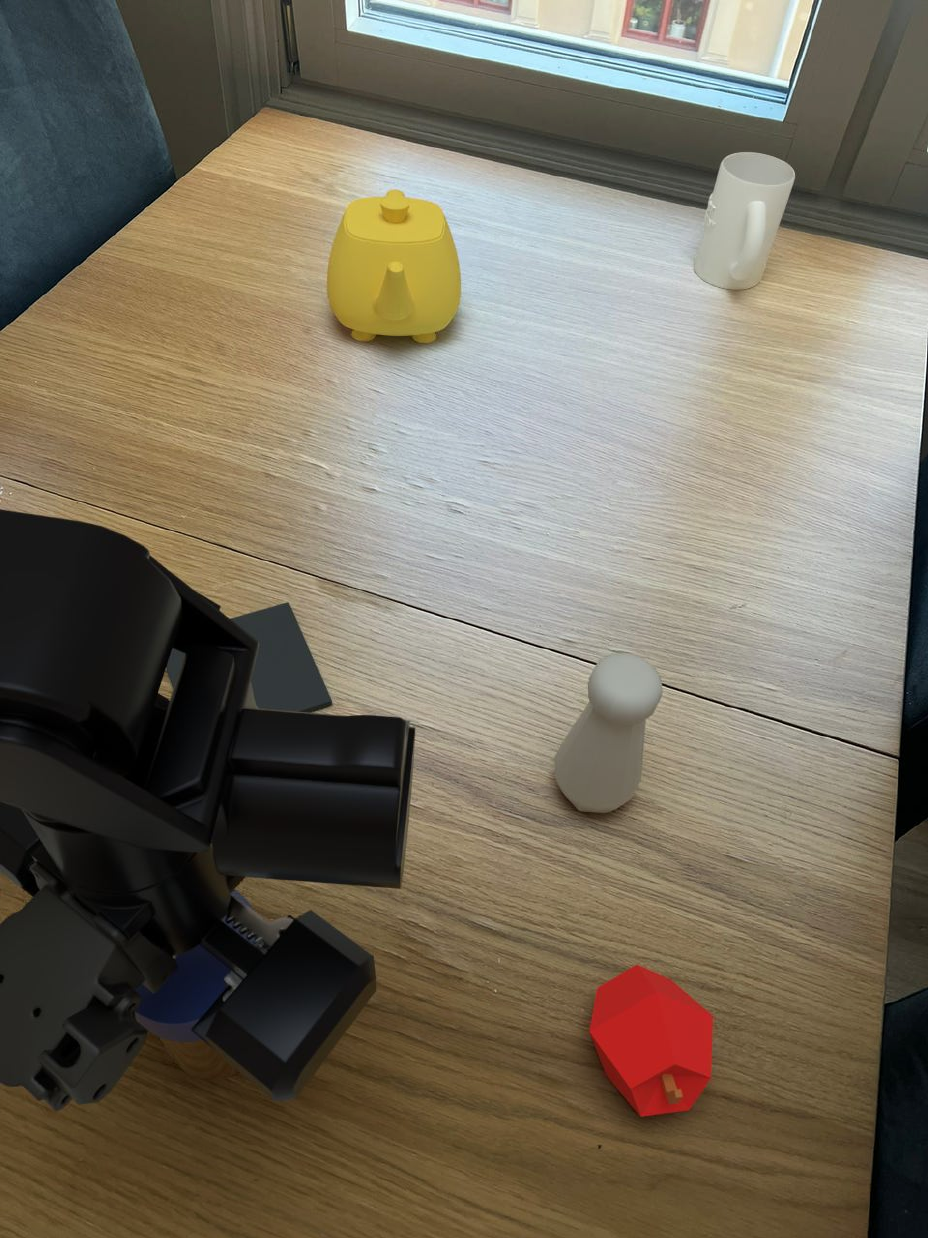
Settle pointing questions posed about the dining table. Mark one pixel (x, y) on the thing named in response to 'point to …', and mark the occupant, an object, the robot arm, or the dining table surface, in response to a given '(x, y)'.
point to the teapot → (394, 269)
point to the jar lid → (185, 993)
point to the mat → (277, 663)
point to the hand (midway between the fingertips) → (197, 970)
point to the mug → (743, 219)
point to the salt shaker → (609, 735)
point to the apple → (652, 1041)
